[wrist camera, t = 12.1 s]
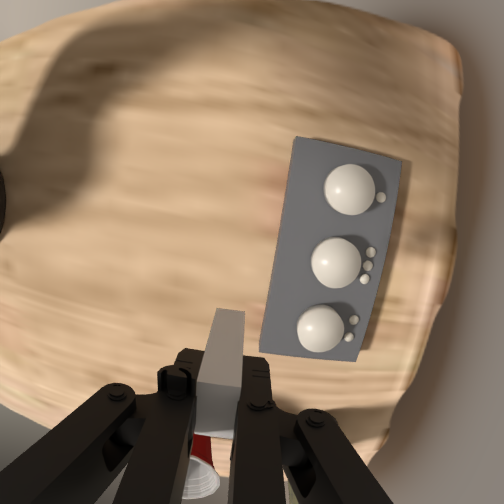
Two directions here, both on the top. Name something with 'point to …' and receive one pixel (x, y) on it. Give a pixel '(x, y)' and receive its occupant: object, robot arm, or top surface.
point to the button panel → (314, 231)
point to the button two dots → (320, 328)
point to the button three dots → (335, 262)
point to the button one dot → (349, 189)
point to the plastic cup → (200, 470)
